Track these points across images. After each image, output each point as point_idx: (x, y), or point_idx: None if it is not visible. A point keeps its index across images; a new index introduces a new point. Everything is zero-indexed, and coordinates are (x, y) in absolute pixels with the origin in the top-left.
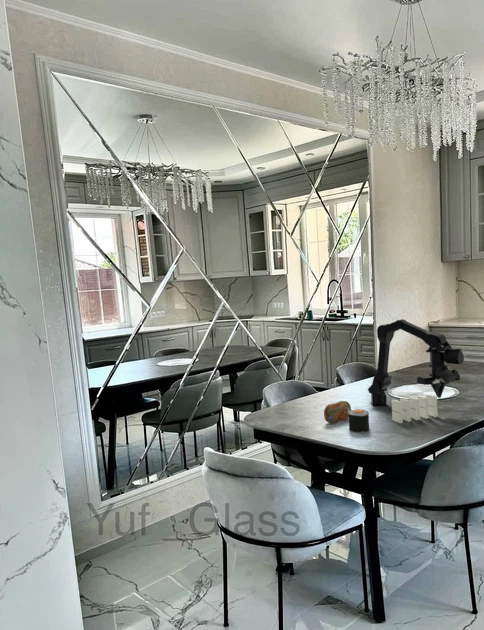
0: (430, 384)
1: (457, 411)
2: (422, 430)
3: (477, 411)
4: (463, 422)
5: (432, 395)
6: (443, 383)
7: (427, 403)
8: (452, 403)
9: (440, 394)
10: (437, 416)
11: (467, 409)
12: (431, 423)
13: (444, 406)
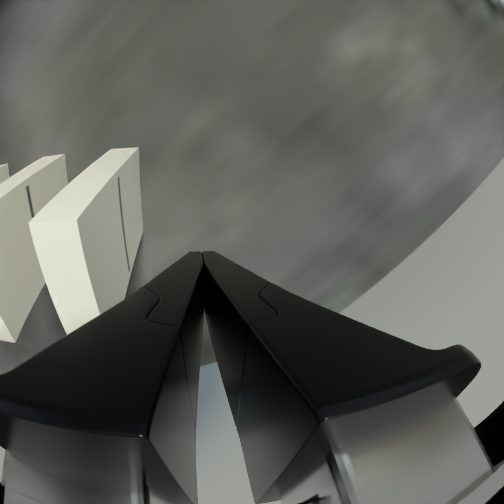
0: (45, 357)
1: (350, 196)
2: (5, 349)
3: (409, 251)
4: (201, 355)
5: (83, 304)
6: (254, 491)
7: (27, 302)
8: (457, 60)
9: (207, 316)
10: (141, 232)
11: (416, 197)
12: (53, 311)
13: (387, 57)
